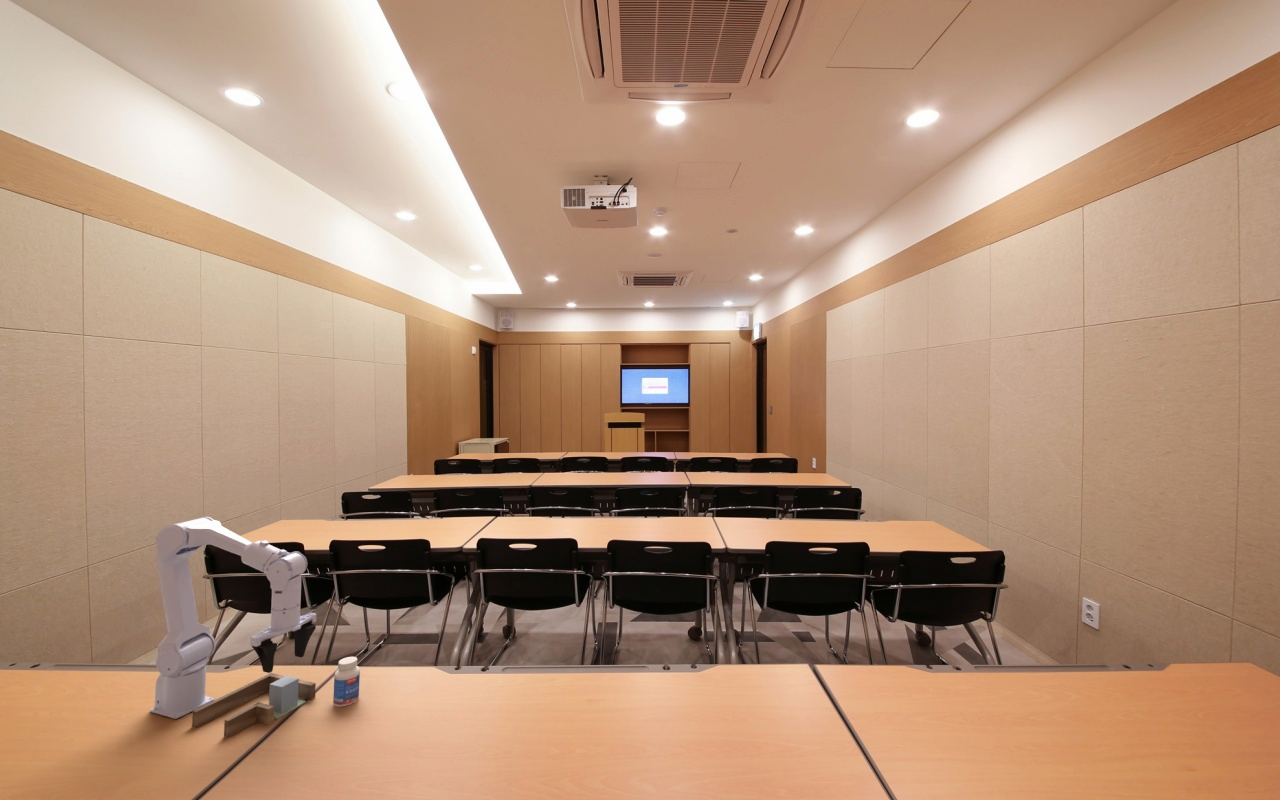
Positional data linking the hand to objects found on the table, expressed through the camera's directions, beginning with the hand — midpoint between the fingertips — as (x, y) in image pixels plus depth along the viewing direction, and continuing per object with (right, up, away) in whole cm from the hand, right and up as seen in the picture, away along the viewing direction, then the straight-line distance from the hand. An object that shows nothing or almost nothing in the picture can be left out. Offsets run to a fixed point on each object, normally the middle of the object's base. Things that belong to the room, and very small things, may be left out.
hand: (284, 663), depth 117 cm
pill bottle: (+13, -11, +3) cm, 17 cm away
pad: (0, -10, 0) cm, 10 cm away
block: (0, -10, 0) cm, 10 cm away
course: (-5, -10, -2) cm, 12 cm away
